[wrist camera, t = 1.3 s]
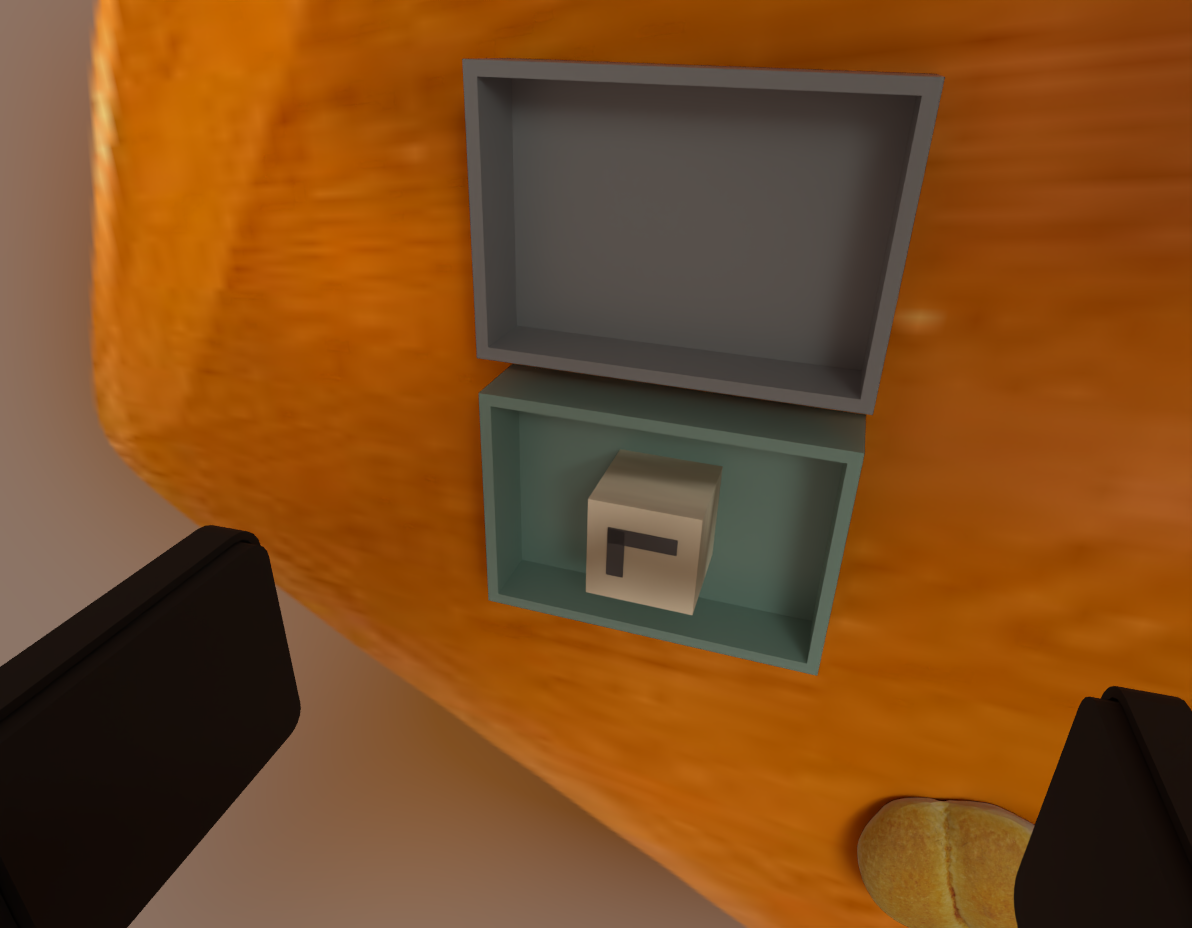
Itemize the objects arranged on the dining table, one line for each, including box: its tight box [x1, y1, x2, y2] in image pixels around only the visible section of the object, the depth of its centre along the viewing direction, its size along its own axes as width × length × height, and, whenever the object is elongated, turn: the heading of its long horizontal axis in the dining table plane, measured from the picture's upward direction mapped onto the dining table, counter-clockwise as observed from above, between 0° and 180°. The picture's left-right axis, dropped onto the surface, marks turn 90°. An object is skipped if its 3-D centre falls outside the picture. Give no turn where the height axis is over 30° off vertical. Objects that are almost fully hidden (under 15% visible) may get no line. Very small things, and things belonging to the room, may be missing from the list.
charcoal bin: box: [462, 58, 945, 415], centre depth 28 cm, size 10×15×4 cm
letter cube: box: [586, 449, 723, 615], centre depth 33 cm, size 4×5×5 cm
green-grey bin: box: [479, 364, 866, 675], centre depth 34 cm, size 10×15×4 cm
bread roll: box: [857, 797, 1035, 928], centre depth 38 cm, size 8×9×4 cm
